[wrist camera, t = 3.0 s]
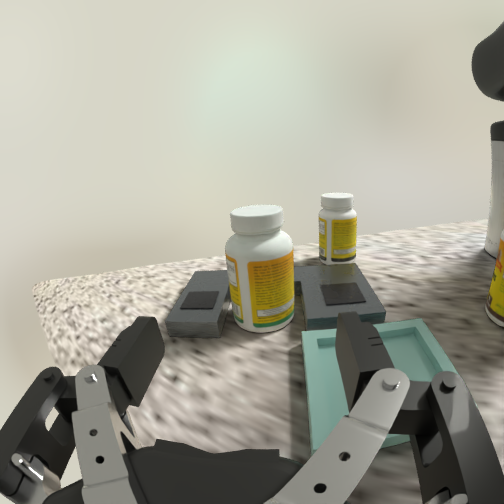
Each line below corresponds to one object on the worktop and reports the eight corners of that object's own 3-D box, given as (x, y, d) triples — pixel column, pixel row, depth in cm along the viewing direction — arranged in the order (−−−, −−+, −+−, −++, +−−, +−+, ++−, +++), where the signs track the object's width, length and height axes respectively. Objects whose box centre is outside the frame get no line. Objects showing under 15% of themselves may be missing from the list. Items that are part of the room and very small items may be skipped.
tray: (417, 329, 19) (420, 317, 18) (469, 419, 10) (477, 407, 9) (301, 343, 20) (301, 331, 19) (311, 458, 11) (313, 449, 10)
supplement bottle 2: (361, 257, 34) (362, 194, 31) (345, 270, 31) (346, 199, 28) (330, 250, 37) (329, 191, 34) (312, 262, 34) (310, 196, 31)
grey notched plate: (354, 275, 29) (355, 262, 29) (382, 327, 20) (386, 310, 20) (197, 283, 31) (195, 270, 31) (169, 336, 22) (164, 320, 21)
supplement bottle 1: (222, 325, 23) (205, 216, 20) (253, 297, 27) (244, 202, 24) (278, 341, 20) (271, 219, 17) (303, 307, 25) (301, 203, 21)
